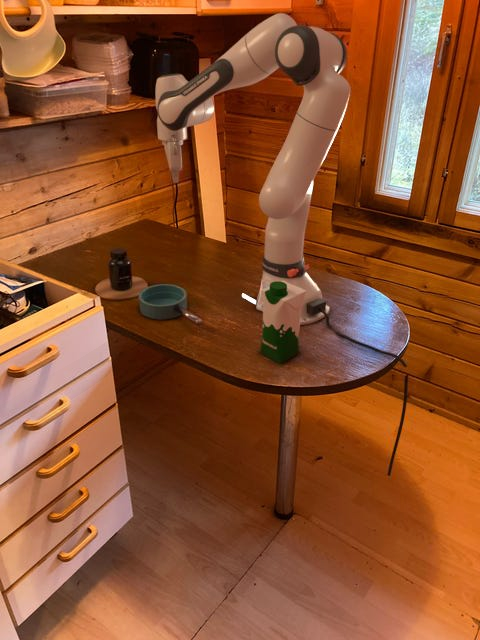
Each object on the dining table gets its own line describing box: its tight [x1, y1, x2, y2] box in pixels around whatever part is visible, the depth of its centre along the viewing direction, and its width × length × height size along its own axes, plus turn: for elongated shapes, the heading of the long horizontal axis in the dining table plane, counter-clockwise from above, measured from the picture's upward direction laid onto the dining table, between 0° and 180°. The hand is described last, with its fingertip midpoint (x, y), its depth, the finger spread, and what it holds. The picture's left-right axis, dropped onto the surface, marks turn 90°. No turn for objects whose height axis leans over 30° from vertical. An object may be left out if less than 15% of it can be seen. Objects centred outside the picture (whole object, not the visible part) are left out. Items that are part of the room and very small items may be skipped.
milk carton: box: [259, 281, 306, 365], centre depth 125 cm, size 9×9×20 cm
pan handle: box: [174, 304, 203, 327], centre depth 139 cm, size 12×2×2 cm, turn 41°
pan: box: [138, 283, 188, 321], centre depth 148 cm, size 14×14×4 cm
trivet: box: [94, 275, 149, 301], centre depth 159 cm, size 16×16×1 cm
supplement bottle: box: [107, 247, 133, 291], centre depth 156 cm, size 7×7×12 cm
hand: (174, 178), depth 162 cm, fingers open, 8 cm apart
